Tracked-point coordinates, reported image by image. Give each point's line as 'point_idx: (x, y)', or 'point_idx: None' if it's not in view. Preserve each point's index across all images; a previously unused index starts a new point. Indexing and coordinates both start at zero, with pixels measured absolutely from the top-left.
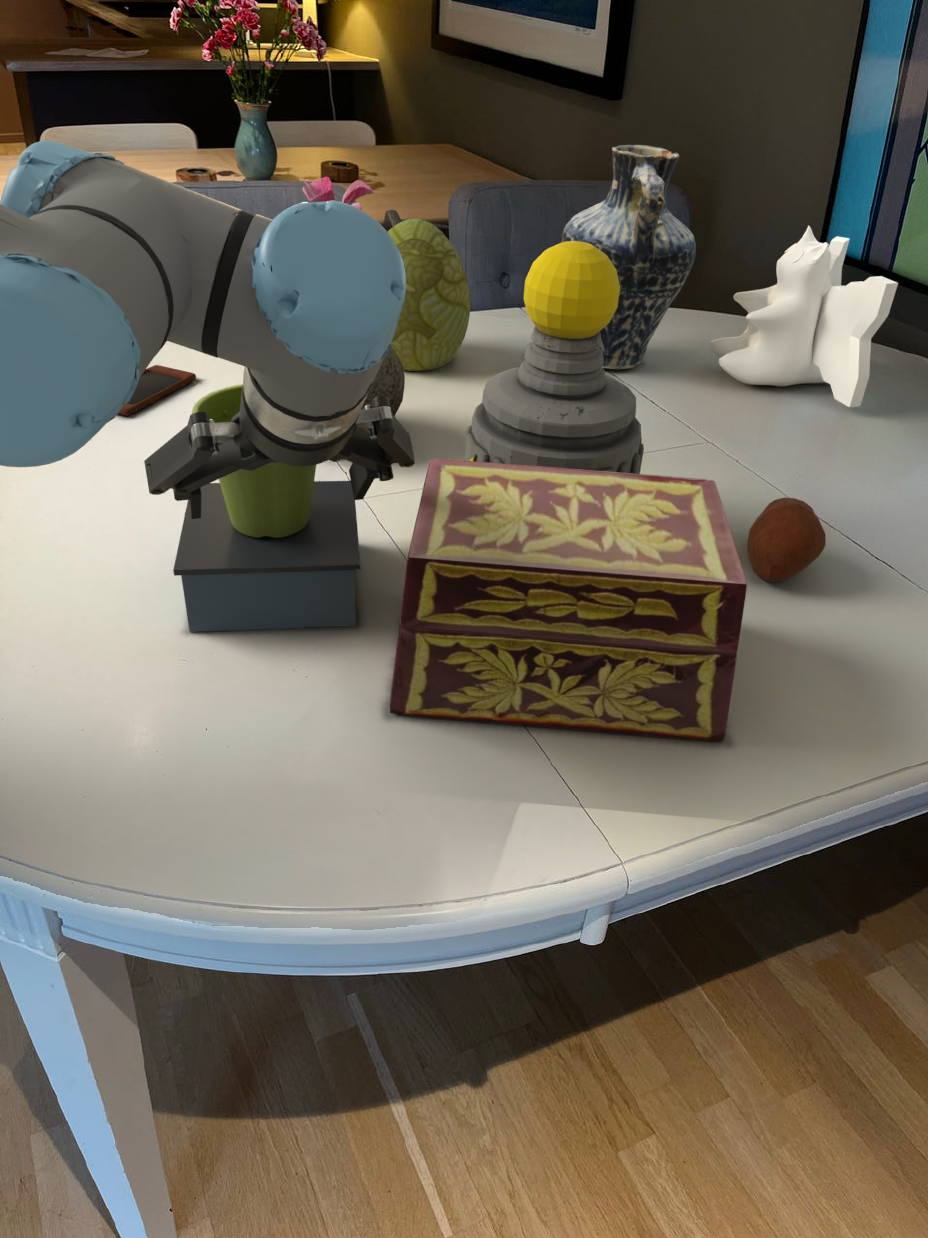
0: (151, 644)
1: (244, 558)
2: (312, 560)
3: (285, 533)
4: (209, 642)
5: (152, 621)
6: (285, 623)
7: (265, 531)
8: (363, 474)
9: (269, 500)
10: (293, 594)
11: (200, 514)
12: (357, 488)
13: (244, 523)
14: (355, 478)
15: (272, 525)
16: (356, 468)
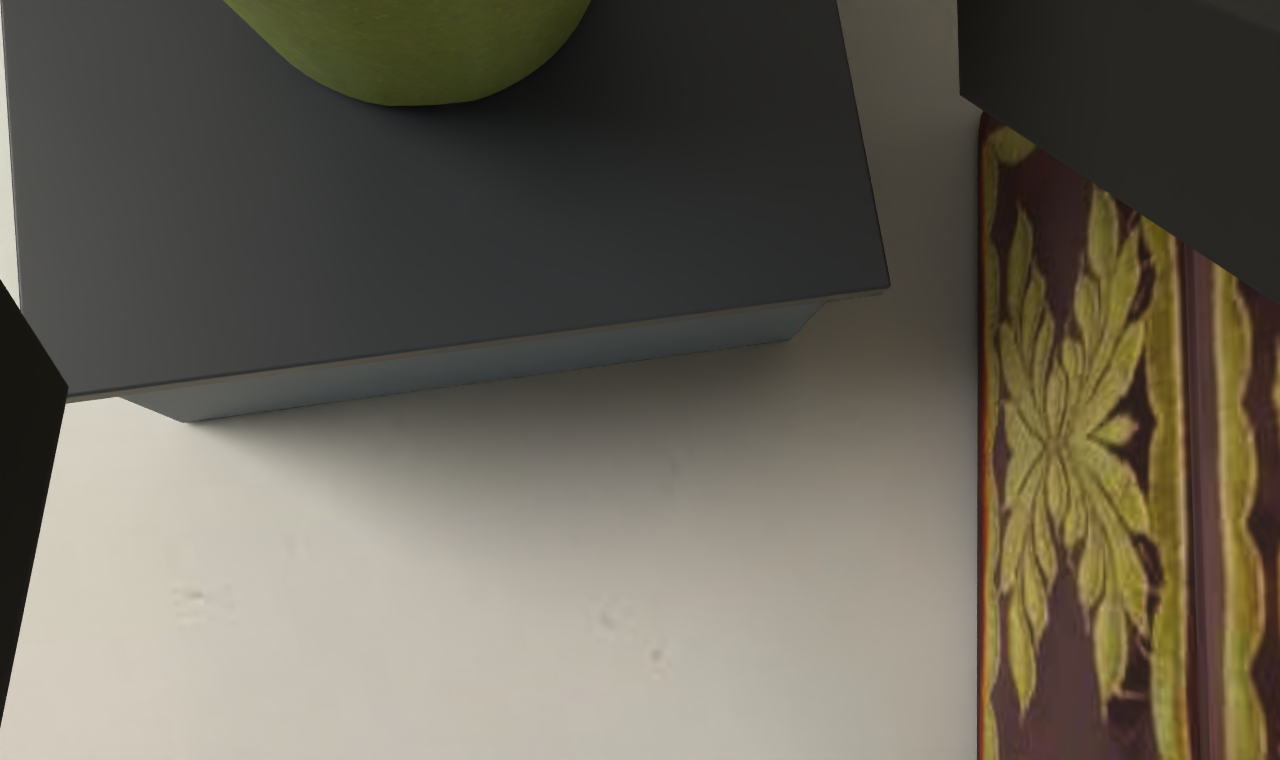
0: (52, 508)
1: (350, 276)
2: (669, 268)
3: (515, 78)
4: (268, 479)
5: None
6: (537, 371)
7: (422, 99)
8: (1215, 215)
9: (439, 37)
10: (575, 338)
11: (56, 435)
12: (1041, 120)
13: (310, 68)
14: (1042, 55)
15: (456, 86)
16: (1096, 39)
